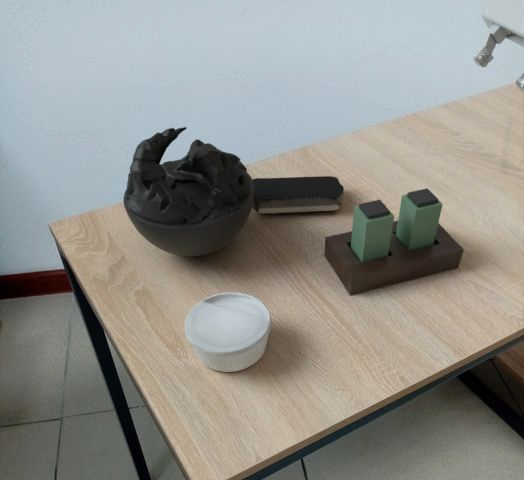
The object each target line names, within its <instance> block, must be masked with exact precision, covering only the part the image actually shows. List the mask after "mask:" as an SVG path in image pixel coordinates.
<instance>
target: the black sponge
mask: <svg viewBox="0 0 524 480" xmlns="http://www.w3.org/2000/svg"><path fill="white" fill-rule="evenodd" d="M252 180H253V183H254V201H253V206H252V209H253V210H254V212H256V213H257V214H283V213H284V214H286V213H287V214H288V213H308V212H309V213H310V212H329V211H332V212H333V211H337V210H339V209H340V208H341V207H342V204H343V198H344V191H345V188H344V186H343V185H342V183H340V181H339V180H340V179H338V177H336V176H331V175H327V176H326V175H325V176H323V175H321V176H320V175H319V176H295V177H294V176H292V177H291V176H290V177H265V178H264V177H257V178H252Z"/></svg>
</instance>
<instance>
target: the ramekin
mask: <svg viewBox="0 0 524 480" xmlns="http://www.w3.org/2000/svg"><path fill="white" fill-rule="evenodd" d="M271 327H272V316H271V312H270V310H269V307H267V306H266V304H265V303H264V302H262V300H260V299H259V298H257V297H255V296H253V295H250V294H246V293H244V292H243V293H242V292H233V291H232V292H231V291H229V292H228V291H227V292H222V293H217V294H213V295H210V296H207V297H205V298H203V299H201V300H200V301H198V302H197V303H196V304H194V306H193V307H192V308H191V309H190V310H189V311H188V313H187V315H186V317H185V320H184V332H185V336H186V340H187V341H188V343H189V345H191V347H192V349H193V351H194V353H195V355H196V357H197V358H198V361H200V362H201V363H202V364H203V365H204V366H206V367H208V368H210V369H211V370H214V371H217V372H224V373H232V372H239V371H243V370H245V369H247V368H249V367H251V366H253V365H255V364H256V363H257V362H258V361H259V360H260V359H261V358H262V356H264V353H265V351H266V348H267V344H268V340H269V339H268V338H269V334H270V331H271Z"/></svg>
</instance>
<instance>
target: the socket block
mask: <svg viewBox="0 0 524 480" xmlns="http://www.w3.org/2000/svg"><path fill="white" fill-rule="evenodd" d="M397 224H398V220H394V221H393V227H392V234H391V240H390V246H389V253H388V257H384V258H380V259H376V260H371V261H367V262H363V263H360V262H359V260H358V259H357V257H356V256H355V255H354V253H353V252H352V250H351V239H352V230H351V231H347V232H343V233H338V234H334V235H333V234H332V235H329V236H325V237H324V253H323V254H324V257H325V259H326V260H327V262H328V263H329V265H330V267H331V268H332V269H333V271H334V273H335V274H336V276H337V278H338V279H339V280H340V282H341V284H342V285H343V287H344V288H345V290H346V291H347V293H348V295H349V296H353V295H357V294H361V293H365V292H369V291H374V290H376V289H380V288H384V287H388V286H392V285H393V286H394V285H396V284H400V283H404V282H409V281H412V280H417V279H421V278H425V277H429V276H431V275H436V274H440V273H444V272H447V271H452V270H456V269H459V267H460V264H461V260H462V259H463V255H464V254H463V253H464V248H463V247H462V246H461V245H460V244H459V242H457V241H456V239H454V237H453V236H452V235H451V234H450V233H448V231H447V230H446V229H445V228H444V227H443V226H442V225H441V224H440V223H439V222H438V227H437V231H436V235H435V240H434V244H433V246H430V247H425V248H421V249H417V250H413V251H409V252H408V250H407V249H406V248H405V247H404V245H403V244H402V243H401V242H400V241H399V239H398V238H397V237H396V230H397Z"/></svg>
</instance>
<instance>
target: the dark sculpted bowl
mask: <svg viewBox="0 0 524 480" xmlns="http://www.w3.org/2000/svg"><path fill="white" fill-rule="evenodd" d="M185 130H187V126H184V127H179V128H176V129H175V127H169V128H166V129H165V130H163V131H162V132H156V133H155V134H153V135H152V136H151V137H149V138H146V139H143V140H141V141H140V142H139V144H137V146H136V148H135V150H134V152H133V155H132V162H131V164H130V167H129V173H128V174H127V175H128V176H127V182H126V189H125V191H124V194H123V207H124V209H125V213H126V214H127V216H128V219H129V220H130V222H131V223H132V225H133V227H134V229H136V230H137V232H138V233H139V234H140V235H141V236H142V237H143V238H144V239H145V240H146V241H147V242H149V243H150V244H151V245H153V246H155V248H158V249H160V250H161V251H163V252H166V253H168V254H172V255H176V256H181V257H199V256H200V257H201V256H205V255H209V254H211V253H214V252H216V251H219V250H221V249H223V248H224V247H226V246H227V245H228V244H230V243H231V242H232V241H233V240H235V238H237V237H238V235H239V234H240V233H241V232H242V230H243V229H244V227H245V225H246V224H247V222H248V220H249V217H250V214H251V212H252V209H253V208H252V206H253V201H254V183H253V180H252V179H253V178H252V176H251V175H250V174H249V172H248V171H247V170H248V168H247V167H246V166H245V165H244V164H243V163H242V161H241V158H240V157H239V156H237V155H236V154H233V153H230V152H226V151H222V150H221V149H219V148H218V147H216V146H215V145H213V144H212V143H210V142H207V143H204V141H202V140H200V139H198V138H197V139H195V140H192V142H191V144H190V147H189V150H188V151H187V153H186V155H184V156H183V157H182V158H180V159H176V160H168V161H164V162H163V163H161V161H162V159H163V157H164V155H165V153H166V151H167V149H168V148H169V146H171V144H172V143H173V142H174V141H176V139H178V137H179V136H180V135H181V133H183V132H184V131H185Z"/></svg>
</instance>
